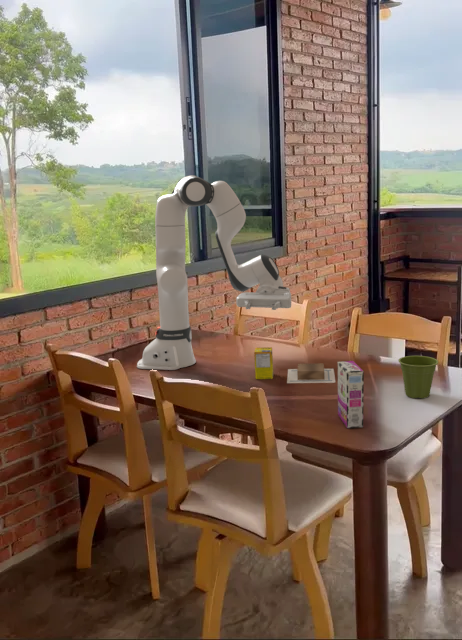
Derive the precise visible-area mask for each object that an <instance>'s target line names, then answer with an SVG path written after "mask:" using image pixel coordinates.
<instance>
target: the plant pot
mask: <svg viewBox="0 0 462 640" xmlns="http://www.w3.org/2000/svg"><path fill="white" fill-rule="evenodd" d="M398 363H399V364H400V368H401V371H402V378H403V386H404V394H405V396H406V397H408V398H411V399H418V398H419V399H425V398H428V397H430V394H431V390H432V385H433V379H434V374H435V371H436V367H437V365H438V364H439V360H438V359H436V358H434V357H430V356H425V355H408V356H403V357H400V358H399V359H398Z"/></svg>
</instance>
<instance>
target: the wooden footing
mask: <svg viewBox="0 0 462 640" xmlns="http://www.w3.org/2000/svg"><path fill="white" fill-rule="evenodd" d="M324 364H325V363H323V362H322V363H321V362H320V363H316V362H315V363H297V368H296V369H297V376H298V380H321V379H324V369H325V365H324Z"/></svg>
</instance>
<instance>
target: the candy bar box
mask: <svg viewBox="0 0 462 640" xmlns="http://www.w3.org/2000/svg"><path fill="white" fill-rule="evenodd" d="M364 374H365V371H364V370H363V369H362V368H361V367H360V366H359V365H358V364H357V363H356V362H355V361H354V360H344V361H337V415H338V417H339V418H340V420H341V421H342V423H343V424H344V426H345V427H346V428H347V429H361V428H364V426H365V425H364V407H365V406H364V401H365V400H364V397H365V395H364V391H365V390H364V389H365V387H364V386H365V385H364V384H365V383H364V382H365V380H364V379H365V378H364Z"/></svg>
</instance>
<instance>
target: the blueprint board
mask: <svg viewBox="0 0 462 640" xmlns="http://www.w3.org/2000/svg"><path fill="white" fill-rule="evenodd" d="M297 369H298V368H287V379H286V384H321V383H323V384H326V383H327V384H333V383H336V376H335V370H334V368H324V379H321V380H298V376H297Z"/></svg>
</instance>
